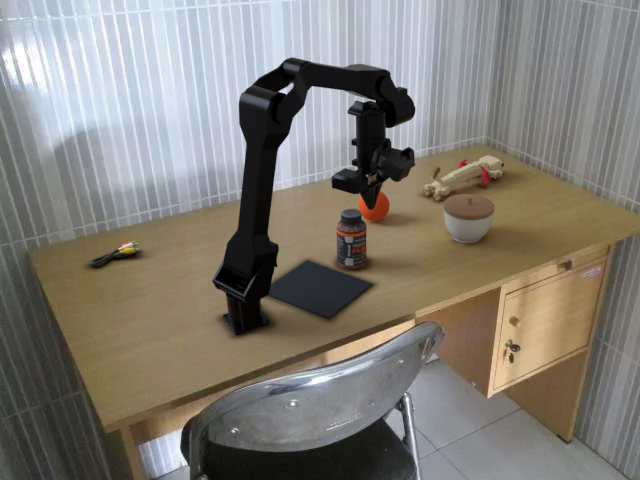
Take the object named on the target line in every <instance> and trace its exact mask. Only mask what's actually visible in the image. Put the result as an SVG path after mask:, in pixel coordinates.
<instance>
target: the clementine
mask: <svg viewBox="0 0 640 480" xmlns="http://www.w3.org/2000/svg"><path fill="white" fill-rule="evenodd" d="M358 210H359V211H361V214H362V217H363V218H364V219H366V220H368V221H370V222H379V221H381V220H383V219H385V217H387V215H388V213H389V211H390V200H389V198H388V196H387V195H386V194H385V193H384V192H382V191H380V193H379V196H378V199H377V202H376V205H375V208H374V209H373V210H370V209H368V208H367V206H366V204H365V202H364V200H363V199H362V197H361V196H360V198H359V201H358Z"/></svg>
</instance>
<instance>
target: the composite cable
mask: <svg viewBox="0 0 640 480" xmlns="http://www.w3.org/2000/svg"><path fill="white" fill-rule="evenodd" d="M135 242H136V241H135V240H134V241H127V242H125V243H123V244H121V245H119V246H118V247H117V248H115V249H114V250H113V251H110V253H106V254H103V255H101V256H97V257H95V258H93V259H91V260H90V261H89V265H90V267H98V266H100V265H102V264H103V263H104V264H105V262H107V261H109V260H112V259H117V258H118V259H121V258H122V259H123V258H126V257H130V256H132V255H133V254H134V253H136V252H138V251H140V250H141V249H140V248H135V247H136V246H137V247H138V246H139V243H138V242H137V243H135Z"/></svg>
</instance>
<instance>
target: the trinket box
mask: <svg viewBox="0 0 640 480" xmlns="http://www.w3.org/2000/svg"><path fill="white" fill-rule="evenodd" d="M494 212H495V204H494V203H493V201H492V200H490V199H489V198H487V197H485V196H482V195H479V194H471V193H470V194H469V193H461V194H455V195H452V196H449V197H447V198H446V199H445V200H444V201H443V219H444V220H443V221H444V226H445V228H446V230H447V233H448V234H449V235H450V236H451V237H452V238H453V240H454V241H456V242H458V243H461V244H474V243H477V242H479V241H481V239H482V238H483V237H485V236H486V235H487V233H488V232H489V230H490V228H491V226H492V224H493V223H492V222H493V218H494Z"/></svg>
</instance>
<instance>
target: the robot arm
mask: <svg viewBox="0 0 640 480" xmlns="http://www.w3.org/2000/svg"><path fill="white" fill-rule="evenodd" d="M391 75H392V74H391V71H389V70H388V69H386V68H381V67H376V66H372V65H370V64H369V65H368V64H364V63H354V64H349V65H347V66H337V65H331V64H326V63H320V62H313V61H310V60H306V59H301V58H297V57H294V56H293V57H289V58H286V59H284V60H283V61H282V62H281V64H279V65H278V66H277V67H276V68H274V69H273V70H271V71H269V72H267V73H265V74H263V75H262V76H260V77H258V78H257V79H256V80H255V81H254V82H253V84H251V85H250V86H249V87H247V88H246V89H245V90H244V91H243V92H241V94H240V96H239V99H238V123H239V127H240V130H241V133H242V135H243V138H244V141H245V145H246V146H245V153H244V154H245V155H244V165H243V176H242V177H243V178H242V184H241V193H240V203H239V212H238V213H239V214H238V222H237V223H238V224H237V229H236V231H235V232H234V233H233V234H232V236H231V237H230V238H229V240H228V241H227V244H226V247H225V252H224V256H223V259H222V262H221V263H220V265H219V267H218V268H217V271H216V272H215V274H214V276H213V278H212V281H211V282H212V284H213V285H214V287H215V288H216V289H217V290H220V291H222V292H223V293H225V299H226V307H227V311H228V312H227V313H224V314H222V319H223V320H224V322H225V323H226V324H227V325H228V327H229V328H230V330H231V331H232V332H233V334H234V335H241V334H244V333H248V332H252V331H253V330H256V329H259V328H262V327H265V326H269V325H270V324H271V320H270V319H269V318H268V317H267V315H266V314H265V313H264V312H263V309H262V299H264V298H265V297H267V296H268V295H269V292H270V287H271V284H272V280H273V275H274V272H275V268H278V255H279V251H280V247H279V244H278V243H276V242H274V241H273V240H271V239H270V236H269V225H270V217H271V210H272V200H273V193H274V184H275V176H276V168H277V159H278V151H279V148H280V147H281V146H282V144H283V143H284V142H285V140H286V139H287V137H289V135H290V132H291V129H292V128H291V127H292V124H293V120H294V118H295V117H296V116H297V114H298V113H299V112H300V111H301V110H303V108H304V106H305V104H306V100H307V96H308V93H309V90H311V88H312V87H315V88H323V89H331V90H338V91H344V92H346V93H348V94H351V95H353V96H355V97H360V98H364V99H367V101H364V102H363V101H360V100H355V101H354V102H353V103H352V105H351V106H350V107H349V108H348V109H347V112H346V113H347V114H348V115H351V116H354V117H355V137H354V138H352V139H351V141H350V142H351V143H350V145H351V146H354V147H355V158H353V159H351V166H353V167H356V168H357V169H355V170H354V169H350V168H347V167H345V168H343V169H341V170H339V171H338V172H336V173H334V174H333V175H332V176H331V178H330V181H331V183H330V184H331V188H332V189H334V190H337V191H342V192H345V193H348V194H352V195H360V198H361V197H362V199H363V200H364V202H365V204H366V206H367V208H368V209H370V210H373V209H374V208H375V205H376V202H377V199H378V196H379V193H380V192H381V191H382V187H383V184H384V183H385V182H386V181H387V180H389V179H390V180H391V181H393V182H395V183H399V182H401V181H402V180H403V179H406V178H408V176H409V175H410V171H411V169H412V168H414V167H416V155H415V149H413V148H411V147H410V146H407V147H405V148H404V149H399V148H395V147H392V140H391V138H389V137H387V129H392V128H394V127H398V126H400V125H402V124H405V123H407V122H410V121H412V119H414V117H415V115H416V106H415V102H414V101H413V99H412V97H411V96H410V95H409V94H408V91H409V90H408V89H409V88H407V87H403V86H396V85H395V82H394V81H393V79H392V76H391ZM291 84H293V85H292V87H291V89H290V90H289V91H288V92H287V93H284V92H281V91H283V90H284V89H285V88H288V87H289V86H290V85H291Z"/></svg>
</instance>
